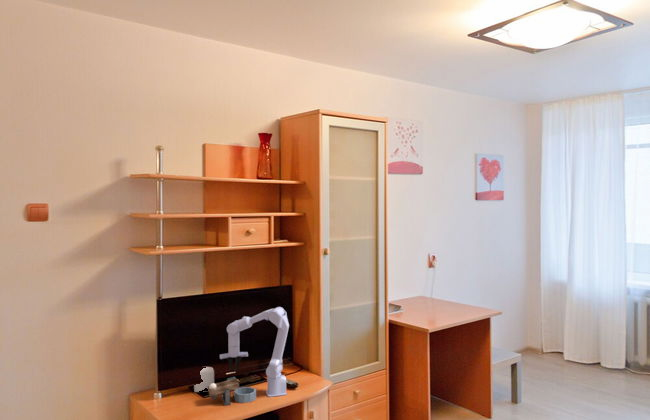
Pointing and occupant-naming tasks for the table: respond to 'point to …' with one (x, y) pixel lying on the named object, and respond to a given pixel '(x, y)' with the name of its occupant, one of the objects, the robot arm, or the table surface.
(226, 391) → the lever stand
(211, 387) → the ball
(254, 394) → the blue-grey round bin
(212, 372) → the white upright shaped piece
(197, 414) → the table surface
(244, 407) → the table surface
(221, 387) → the tipping ramp
